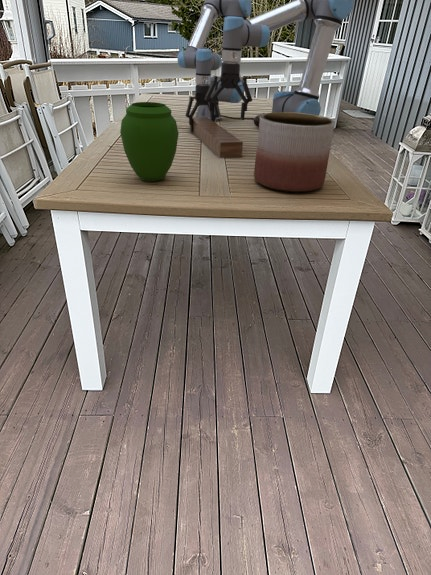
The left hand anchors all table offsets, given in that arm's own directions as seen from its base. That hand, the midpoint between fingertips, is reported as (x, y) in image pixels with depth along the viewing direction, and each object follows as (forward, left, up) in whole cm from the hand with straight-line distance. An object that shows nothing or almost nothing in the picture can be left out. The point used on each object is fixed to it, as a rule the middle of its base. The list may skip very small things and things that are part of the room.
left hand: (201, 131), depth 216 cm
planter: (-1, +87, -1) cm, 87 cm away
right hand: (+5, +42, +14) cm, 45 cm away
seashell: (-38, -5, -1) cm, 38 cm away
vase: (+45, +70, -1) cm, 83 cm away
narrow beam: (+2, +21, -1) cm, 21 cm away
